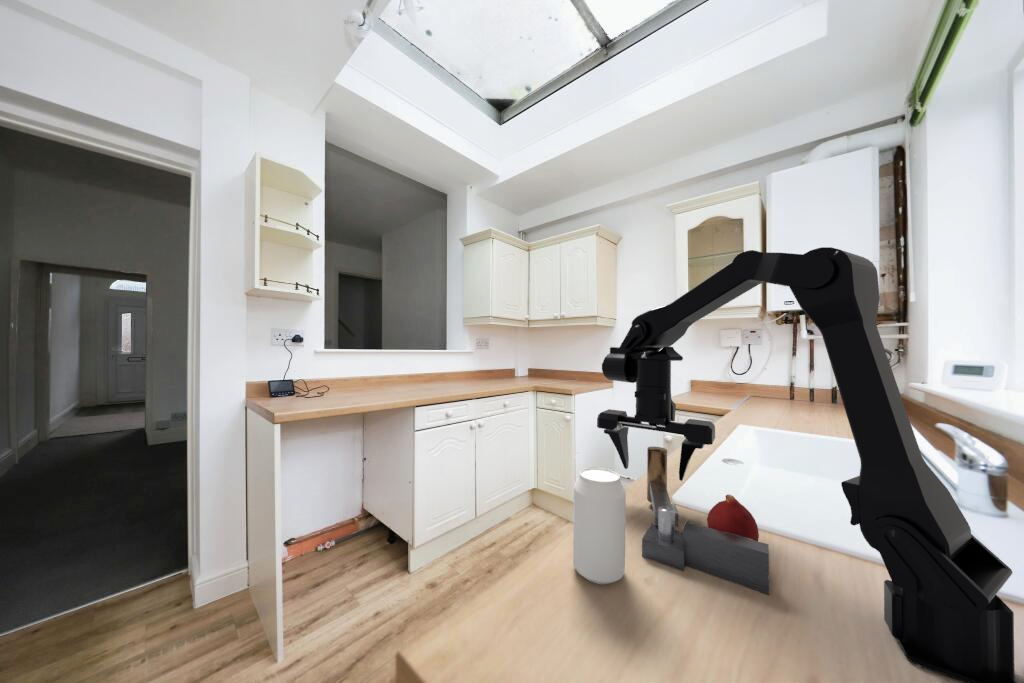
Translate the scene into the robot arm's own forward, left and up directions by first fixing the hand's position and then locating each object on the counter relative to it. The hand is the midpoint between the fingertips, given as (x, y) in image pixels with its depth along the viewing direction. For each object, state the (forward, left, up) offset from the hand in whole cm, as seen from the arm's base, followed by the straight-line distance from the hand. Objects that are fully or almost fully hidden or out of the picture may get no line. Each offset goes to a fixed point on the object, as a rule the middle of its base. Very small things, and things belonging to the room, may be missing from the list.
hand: (652, 473), depth 60 cm
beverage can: (+1, +23, -6) cm, 24 cm away
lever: (-2, +5, -5) cm, 7 cm away
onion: (-12, +9, -6) cm, 16 cm away
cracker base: (-9, +14, -6) cm, 18 cm away
